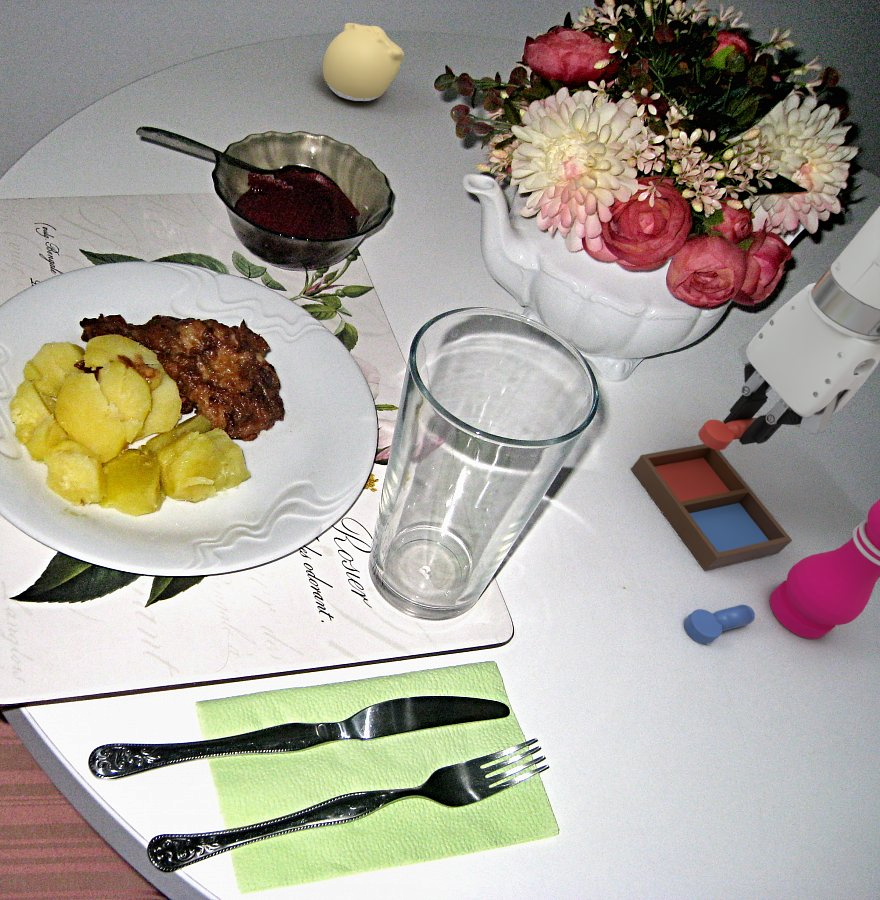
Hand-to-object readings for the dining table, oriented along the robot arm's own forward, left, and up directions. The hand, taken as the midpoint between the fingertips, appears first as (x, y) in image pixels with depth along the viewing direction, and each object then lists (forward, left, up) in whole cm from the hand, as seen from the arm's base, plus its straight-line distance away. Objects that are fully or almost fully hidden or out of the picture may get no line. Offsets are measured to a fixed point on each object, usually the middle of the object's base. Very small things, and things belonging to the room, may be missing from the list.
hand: (742, 431), depth 97 cm
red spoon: (+2, 0, -1) cm, 2 cm away
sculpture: (+8, -86, -9) cm, 87 cm away
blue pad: (+2, +7, -9) cm, 12 cm away
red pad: (+2, 0, -9) cm, 9 cm away
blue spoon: (+11, +17, -9) cm, 22 cm away
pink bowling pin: (0, +18, -9) cm, 20 cm away
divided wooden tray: (+2, +4, -9) cm, 10 cm away
